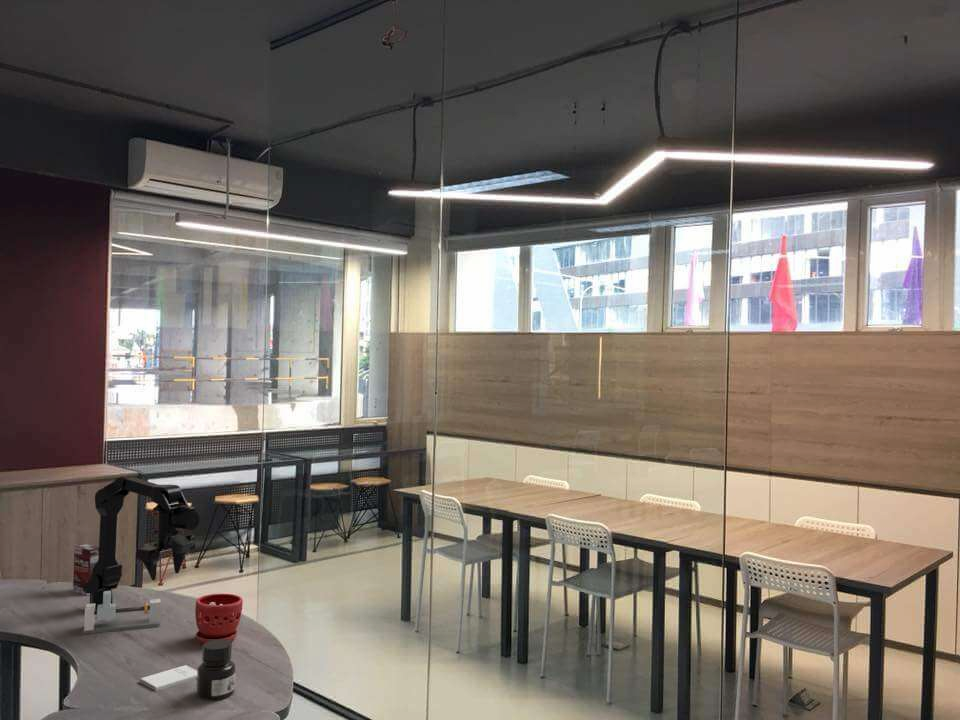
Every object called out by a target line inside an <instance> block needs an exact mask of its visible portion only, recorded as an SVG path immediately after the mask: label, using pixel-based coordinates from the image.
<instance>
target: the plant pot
mask: <svg viewBox="0 0 960 720" xmlns="http://www.w3.org/2000/svg"><path fill="white" fill-rule="evenodd" d="M243 601H244V600H243V597H241V595H237V594H232V593H212V594H206V595H205V594H204V595H202V596H200V597H198V598H196V600H195V608H194V609H195V613H194V614H195V624H196V627H197V630H198V631H196V634H195V638H196V640H197V641H198V642H200V643H202V644H205V643H206V642H209V641H213V640H227V641H230V642H231V641H233V640H234V639H235V638H236V637H237V636H238V630H237V628H238V626H239V624H240V621H241V617H242V613H243V612H242V611H243ZM211 603H214V604H211Z"/></svg>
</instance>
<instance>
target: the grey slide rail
mask: <svg viewBox="0 0 960 720" xmlns="http://www.w3.org/2000/svg"><path fill="white" fill-rule="evenodd" d="M140 611H142V612H143V613H144V614H145V615H146V614H149V616H148V617H139V618H138V617H137V618H131V619H130V618H129V619H120V620H108V621H106V620H105V621H96V616H97V611H95V604H90V603H87V604H86V606H85V609H84V624H83V630H82V635H88V634H87V633H91V634H99V633H98V632H101V633H108V632H107V631H111V632H121V631H128V630H138V629H151V627H152V628H159V627H158V626H160V627H161V598H153V599H149V602H144V606H133V607H121V608H116V614H119V613H120V614H121V613H130V612H140ZM120 630H121V631H120Z"/></svg>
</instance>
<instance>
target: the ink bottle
mask: <svg viewBox="0 0 960 720" xmlns="http://www.w3.org/2000/svg"><path fill="white" fill-rule="evenodd" d="M232 647H233V643H232V642H231V641H227V640H213V641H209V642H206V643H202V653H201V654H202V655H201V656H202V660H201V661H202V662H201V664H200V665H199V666H198V667H197V669H196V670H197V678H196V696H197V698H199V699H201V700H202V699H203V700H208V701H218V700H222V699H225V698H227V697H230V696H231V695H233V694H234V693H235V690H236V689H235V688H236V664H235V662H234V661H233V660H231V659H232V652H233V651H232Z"/></svg>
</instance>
